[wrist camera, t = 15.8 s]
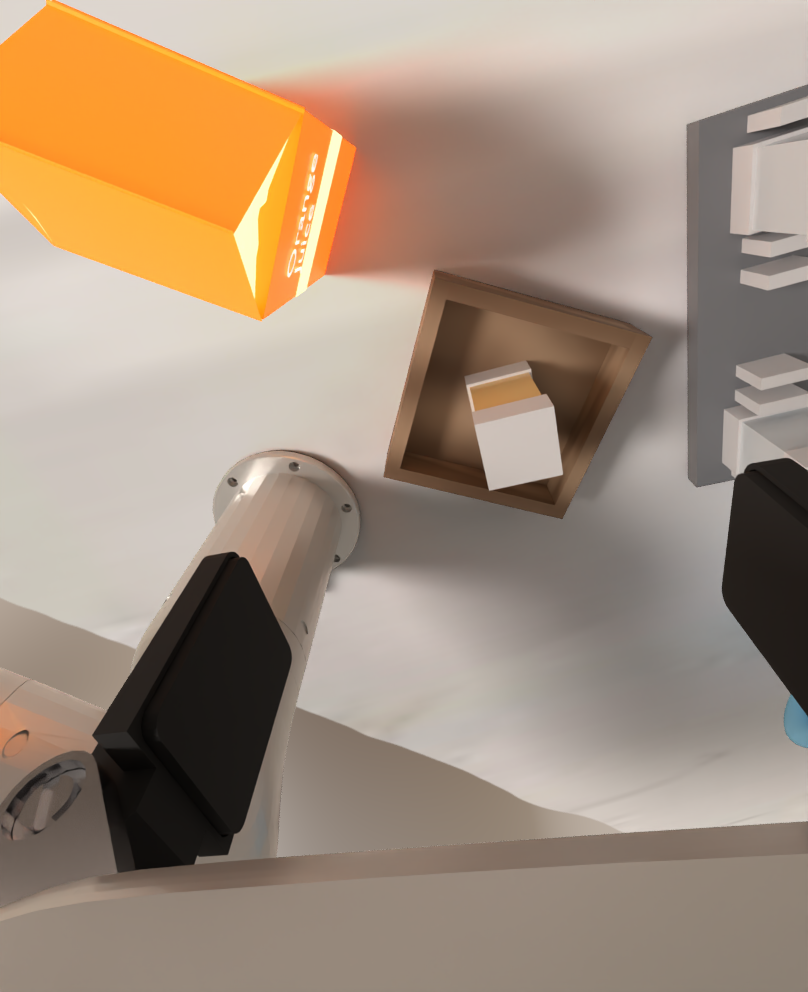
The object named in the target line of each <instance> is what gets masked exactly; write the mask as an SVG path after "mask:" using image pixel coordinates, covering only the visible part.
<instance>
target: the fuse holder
mask: <svg viewBox="0 0 808 992" xmlns="http://www.w3.org/2000/svg"><path fill="white" fill-rule="evenodd" d="M807 124H808V85H805V86H802V87H799V88H796V89H793V90H789V91H786V92H783V93H780V94H777V95H774V96H771V97H768V98H765V99H762V100H759V101H756V102H753V103H750V104H747V105H744V106H741V107H738V108H735V109H732V110H729V111H726V112H723V113H720V114H717V115H714V116H711V117H708V118H705V119H702V120H699V121H696V122H693V123H690V124H687V322H688V479H689V480H690V481H691V482H692V483H693V484H694V485H695V486H696V487H701V486H706V485H711V484H716V483H721V482H725V481H730V480H735V478H736V476H737V475H736V474H735V473H733V472H732V471H731V470H730V469H729V468H728V467H727V466H726V465H724V464H723V463H722V449H723V420H724V409H727V408H731V407H736V406H740V405H743V406H744V407H746V408H747V409H749V410H750V411H752V412H753V413H755V414H756V415H758V416H762V415H766V414H770V413H775V412H779V411H784V410H788V409H792V408H797V407H801V406H806V405H808V242H806V236H807V235H798V234H787V233H776V232H766V231H761V232H758V233H754V234H751V235H742V234H733V233H730V220H731V192H732V163H733V148H735V147H738V146H741V145H744V144H747V143H750V142H753V141H756V140H760V139H763V138H766V137H769V136H772V135H775V134H778V133H782V132H785V131H788V130H791V129H794V128H797V127H800V126H804V125H807Z"/></svg>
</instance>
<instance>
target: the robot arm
mask: <svg viewBox="0 0 808 992" xmlns="http://www.w3.org/2000/svg"><path fill="white" fill-rule="evenodd" d="M294 462H296V463H298V464H296V463H294ZM347 504H349V505H347ZM213 515H214V521H215V524H216V525H215V526H214V528H213V529H212V531H211V532H210V534H209V535H208V537H207V538H206V540H205V541H204V543H203V544H202V546H201V548H200V549H199V551H198V552H197V554H196V555H195V557H194V558H193V560H192V561H191V563H190V564H189V566H188V567H187V569H186V570H185V572H184V573H183V575H182V576H181V578H180V580H179V581H178V583H177V584H176V586H175V587H174V589H173V590H172V592H171V593H170V595H169V596H168V598H167V599H166V601H165V602H164V604H163V605H162V607H161V609H160V610H159V612H158V613H157V615H156V616H155V618H154V619H153V621H152V622H151V624H150V625H149V627H148V629H147V630H146V632H145V634H144V635H143V637H142V639H141V641H140V642H139V644H138V647H137V649H136V652H135V655H134V658H133V662H132V667H131V672H130V676H129V677H128V679H127V680H126V682H125V683H124V685H123V687H122V688H121V690H120V691H119V693H118V695H117V696H116V698H115V699H114V701H113V703H112V704H111V706H110V707H109V709H108V710H105V709H102V708H100V707H97V706H95V705H92V704H90V703H88V702H85V701H83V700H80V699H78V698H76V697H74V696H71V695H69V694H66V693H64V692H61V691H59V690H57V689H54V688H52V687H50V686H47V685H45V684H43V683H40V682H38V681H35V680H33V679H29V678H26V677H24V676H21V675H19V674H17V673H14V672H12V671H9V670H6V669H3V668H0V992H808V821H806V822H791V823H775V824H759V825H743V826H727V827H712V828H696V829H680V830H664V831H649V832H633V833H618V834H604V835H588V836H575V837H574V836H573V837H561V838H560V837H559V838H545V839H529V840H514V841H500V842H486V843H471V844H457V845H442V846H428V847H413V848H400V849H386V850H372V851H359V852H345V853H332V854H319V855H305V856H291V857H278V858H276V856H277V846H278V833H279V818H280V802H281V790H282V779H283V771H284V763H285V756H286V750H287V744H288V739H289V734H290V729H291V724H292V720H293V716H294V711H295V707H296V703H297V699H298V695H299V691H300V687H301V683H302V679H303V676H304V672H305V668H306V665H307V661H308V657H309V653H310V649H311V646H312V642H313V638H314V634H315V630H316V626H317V623H318V619H319V615H320V611H321V607H322V603H323V600H324V596H325V592H326V588H327V584H328V580H329V577H330V573H331V570H332V569H334V568H336V567H337V566H339V565H340V564H341V563H342V562H343V561H345V560H346V559H347V558H348V557H349V555H350V554H351V552H352V551H353V549H354V548H355V545H356V542H357V539H358V536H359V531H360V511H359V506H358V503H357V500H356V498H355V496H354V494H353V492H352V490H351V489H350V487H349V486H348V485H347V483H346V482H345V481H344V480H343V479H342V478H341V477H340V476H339V475H338V474H337V473H336V472H335V471H334V470H332V469H331V468H330V467H328V466H327V465H325V464H324V463H322V462H320V461H318V460H316V459H313V458H311V457H309V456H306V455H302V454H299V453H295V452H286V451H269V452H262V453H258V454H255V455H251V456H249V457H247V458H245V459H243V460H241V461H239V462H238V463H237V464H236V465H234V466H233V467H232V468H231V469H230V470H229V471H228V472H227V473H226V475H225V476H224V477H223V478H222V480H221V482H220V483H219V485H218V487H217V489H216V492H215V495H214V499H213ZM722 594H723V598H724V601H725V604H726V606H727V607H728V609H729V610H730V612H731V613H732V614H733V616H734V617H735V618H736V620H737V621H738V622H739V624H740V625H741V626H742V628H743V629H744V631H745V632H746V633H747V635H748V636H749V637H750V639H751V640H752V641H753V643H754V644H755V646H756V647H757V648H758V650H759V651H760V652H761V654H762V655H763V656H764V658H765V659H766V660H767V662H768V663H769V665H770V666H771V667H772V669H773V670H774V671H775V673H776V674H777V675H778V677H779V678H780V679H781V681H782V682H783V684H784V685H785V686H786V688H787V689H788V690H789V692H790V693H791V694H792V696H793V697H794V698H795V700H796V701H797V703H798V704H799V705H800V707H801V708H802V709H803V711H804V712H805V713H806V715H807V716H808V470H807V469H805V468H804V467H802V466H801V465H799V464H798V463H797V462H795V461H794V460H792V459H790V458H780V459H774V460H768V461H762V462H757V463H751V464H749V465H747V467H746V468H745V470H744V473H740V474H738V475H737V476H736V478H735V482H734V489H733V498H732V506H731V515H730V523H729V531H728V540H727V548H726V557H725V565H724V574H723V582H722Z"/></svg>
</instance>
